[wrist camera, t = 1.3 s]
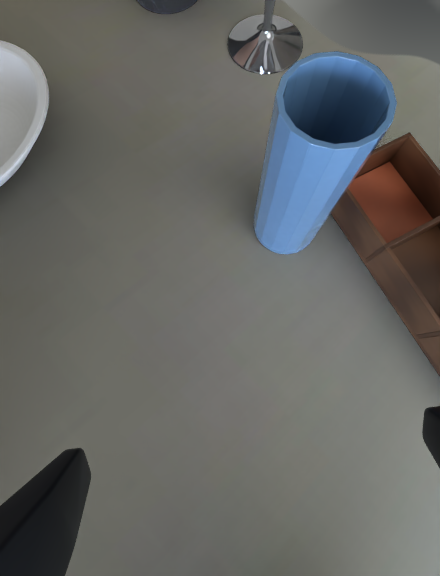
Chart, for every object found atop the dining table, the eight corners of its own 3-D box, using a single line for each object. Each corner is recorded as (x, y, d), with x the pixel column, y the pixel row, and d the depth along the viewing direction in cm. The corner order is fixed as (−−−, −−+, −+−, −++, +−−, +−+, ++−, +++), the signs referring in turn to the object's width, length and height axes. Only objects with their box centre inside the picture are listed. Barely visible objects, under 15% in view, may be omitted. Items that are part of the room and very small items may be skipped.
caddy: (549, 376, 22) (605, 378, 19) (471, 423, 22) (514, 434, 18) (387, 160, 27) (409, 132, 23) (318, 195, 26) (331, 170, 23)
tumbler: (327, 236, 25) (420, 117, 13) (272, 264, 25) (316, 168, 13) (295, 187, 26) (353, 35, 14) (242, 213, 26) (255, 79, 14)
